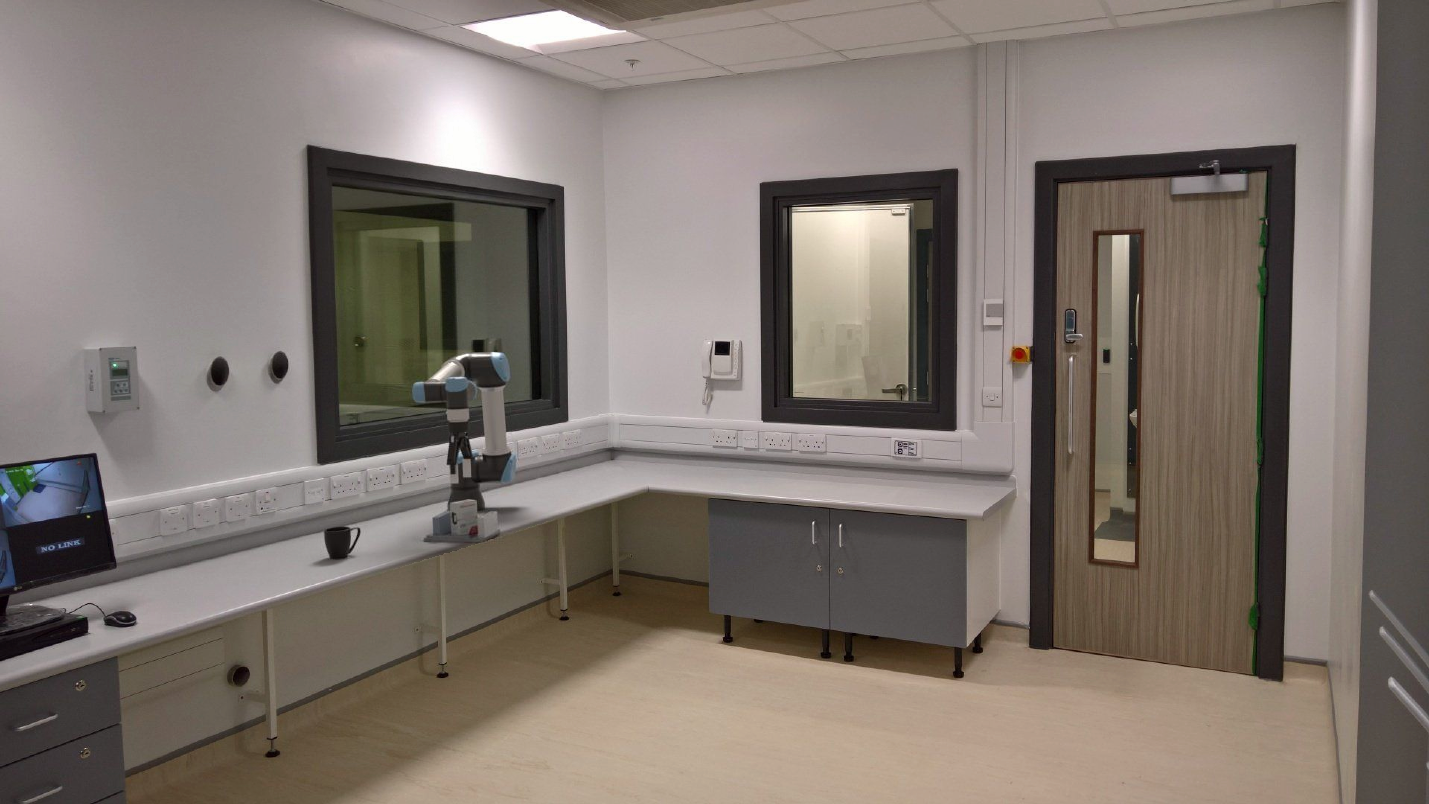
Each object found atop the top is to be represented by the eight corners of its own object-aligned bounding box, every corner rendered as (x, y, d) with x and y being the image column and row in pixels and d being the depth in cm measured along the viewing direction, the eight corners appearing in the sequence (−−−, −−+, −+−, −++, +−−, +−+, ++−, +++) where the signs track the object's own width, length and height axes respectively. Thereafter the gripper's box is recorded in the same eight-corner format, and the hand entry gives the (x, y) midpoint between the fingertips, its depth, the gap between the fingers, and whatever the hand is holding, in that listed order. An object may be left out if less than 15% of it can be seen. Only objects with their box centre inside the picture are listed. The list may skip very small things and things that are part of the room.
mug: (367, 554, 334) (365, 526, 333) (332, 561, 325) (330, 532, 325) (355, 551, 340) (354, 523, 339) (321, 557, 331) (319, 529, 330)
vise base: (443, 531, 368) (442, 509, 367) (500, 532, 364) (499, 510, 364) (423, 541, 352) (422, 518, 352) (482, 542, 349) (481, 519, 348)
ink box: (470, 530, 363) (469, 498, 362) (478, 532, 360) (477, 499, 359) (450, 535, 356) (449, 502, 355) (459, 536, 353) (457, 503, 352)
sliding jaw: (447, 529, 365) (446, 510, 365) (454, 529, 365) (453, 511, 364) (433, 536, 354) (432, 517, 353) (439, 536, 353) (439, 517, 353)
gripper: (459, 417, 368) (462, 474, 369) (435, 424, 343) (438, 486, 345) (479, 417, 367) (482, 474, 369) (456, 424, 342) (459, 485, 344)
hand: (460, 480), depth 357 cm, fingers open, 13 cm apart
